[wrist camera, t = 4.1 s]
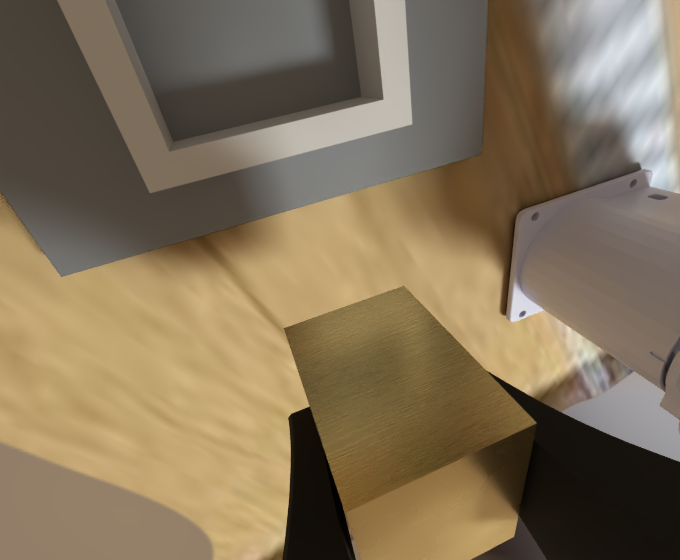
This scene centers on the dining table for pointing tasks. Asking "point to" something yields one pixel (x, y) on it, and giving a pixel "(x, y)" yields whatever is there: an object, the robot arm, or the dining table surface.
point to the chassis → (222, 111)
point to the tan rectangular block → (412, 431)
